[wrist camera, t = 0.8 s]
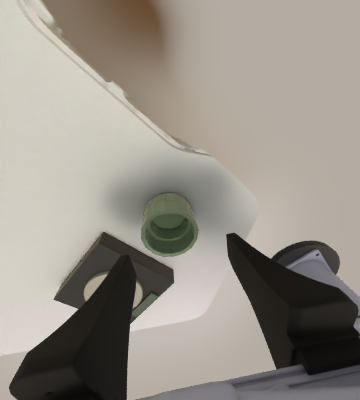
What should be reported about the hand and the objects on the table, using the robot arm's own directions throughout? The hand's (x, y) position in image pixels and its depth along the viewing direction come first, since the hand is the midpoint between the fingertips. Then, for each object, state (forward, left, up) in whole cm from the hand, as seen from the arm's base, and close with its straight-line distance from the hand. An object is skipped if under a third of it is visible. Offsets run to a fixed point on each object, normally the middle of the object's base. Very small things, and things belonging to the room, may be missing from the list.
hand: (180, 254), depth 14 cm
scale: (-4, +13, -9) cm, 17 cm away
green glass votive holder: (-1, +1, -9) cm, 9 cm away
